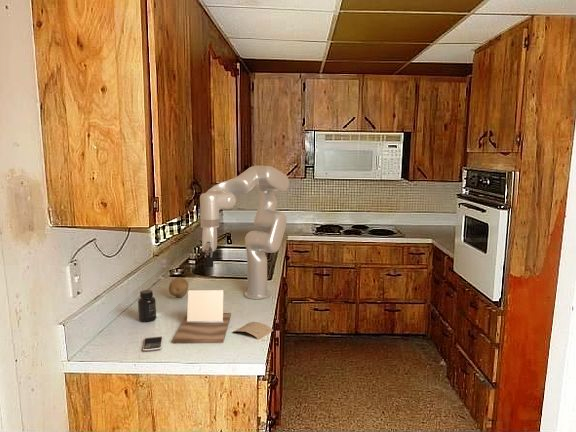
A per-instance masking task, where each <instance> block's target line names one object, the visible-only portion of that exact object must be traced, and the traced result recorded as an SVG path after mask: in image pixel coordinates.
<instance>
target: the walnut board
mask: <svg viewBox="0 0 576 432" xmlns="http://www.w3.org/2000/svg"><path fill="white" fill-rule="evenodd" d="M231 318H232V313H231V312H223V323H187V315H185V318H184V320H183V321H182V324H181V325H180V327H179V328H178V330H177V332H176V333H175V336H174V337H173V340H172V343H173V344H224V342H225V338H226V334H227V331H228V328H229V325H230V321H231Z"/></svg>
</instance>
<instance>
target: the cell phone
mask: <svg viewBox="0 0 576 432" xmlns="http://www.w3.org/2000/svg"><path fill="white" fill-rule="evenodd" d="M162 344H163V336H152V337H151V336H150V337H145V338H144V342H143V346H142V351H143V353H151V352H159V351H161V350H162Z"/></svg>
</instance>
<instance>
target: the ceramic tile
mask: <svg viewBox="0 0 576 432" xmlns="http://www.w3.org/2000/svg"><path fill="white" fill-rule="evenodd" d="M224 294H225V293H224V290H223V289H220V290H218V289H213V290H212V289H211V290H209V289H207V290H206V289H205V290H199V289H198V290H197V289H196V290H195V289H194V290H191V289H190V290H189V289H188V291H187V310H186V311H187V314H186V316H187V323H223V313H224V301H225V300H224V299H225V298H224Z"/></svg>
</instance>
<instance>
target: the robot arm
mask: <svg viewBox="0 0 576 432" xmlns="http://www.w3.org/2000/svg"><path fill="white" fill-rule="evenodd" d="M289 186H290V179H289V178H288V176H287V174H286V173H283V172H282V171H281V170H279V169H278V168H275V167H273V166H270V165H252V166H250V167H248V168H247V169H246V170H244V171H243V172H242V173H240V174H239V175H237V176H235V177H233V178H231V179H227V180H225V181H222V182H219V183H217V184H215V185H213V186H212V187H211V188H209V189H208V190H207V191H206V192H204V193H201V194H200V196H199V205H200V206H199V208H200V218H199V219H200V228H202V235H201V236H202V238H201V252H203V253H204V267H205V268H214V262H217V261H218V260H217V259H218V257H217V253H218V252H217V249H218V248H217V247H218V228H220V210H231V209H232V208H234V207H235V205H236V203H237V197H238V196H239V197H240V196H242V195H246V194H248V193H249V192H250V191H252V190H253V189H254V188H255V187H256V188H257V190H258V193H259V204H258V207H257V210H256V213H255V216H254V220H253V221H254V222H253V223H254V226H255V228H257V229H259V230H251V231H248V233H246V235H245V238H244V244H245V251H246V258H247V259H246V260H247V261H246V262H247V263H246V264H247V265H246V267H247V271H246V273H247V274H246V275H247V290H246V291H244V293H243V294H244V297H245V298H246V299H250V300H251V299H252V300H262V299H267V298H269V297H270V296H271V292H270V291H269V289H268V258H267V255H266V253H268V254H269V253H270V254H274V253H277V252H278V251H279V250H280V247H281V245H282V240H283V239H284V234H285V231H286V227H287V216H286V215H285V213H284V212H282V211H279V210H277V205H278V200H277V197H276V195H275V192H278V193H283V192H286V191H287V190H288V188H289Z"/></svg>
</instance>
